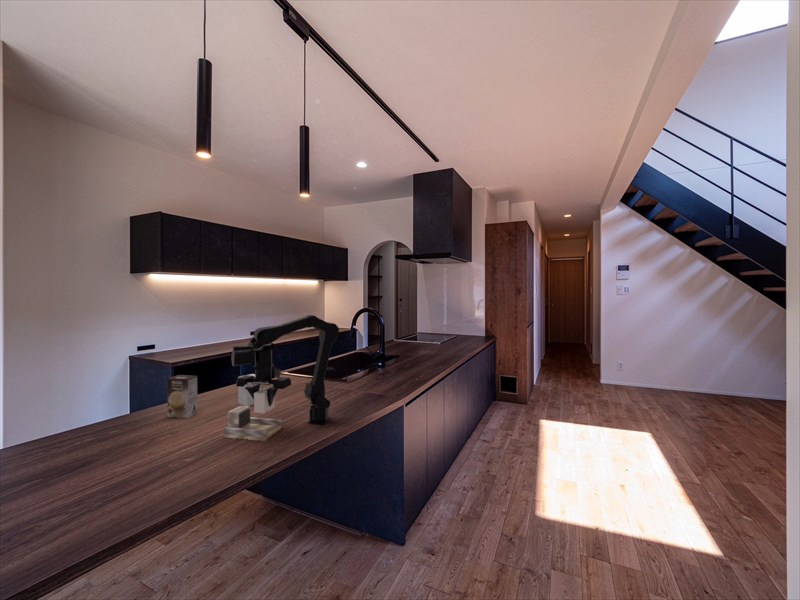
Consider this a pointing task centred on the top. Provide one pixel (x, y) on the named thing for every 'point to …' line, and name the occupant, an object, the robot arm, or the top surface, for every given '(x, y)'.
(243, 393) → the supplement box
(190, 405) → the coffee box
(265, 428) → the beige clamp block
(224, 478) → the top surface
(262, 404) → the block
